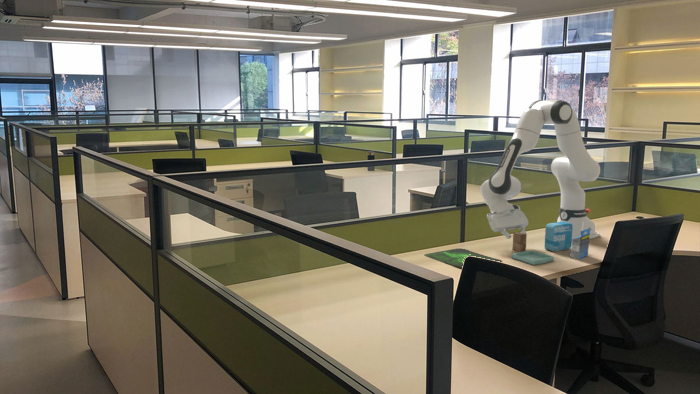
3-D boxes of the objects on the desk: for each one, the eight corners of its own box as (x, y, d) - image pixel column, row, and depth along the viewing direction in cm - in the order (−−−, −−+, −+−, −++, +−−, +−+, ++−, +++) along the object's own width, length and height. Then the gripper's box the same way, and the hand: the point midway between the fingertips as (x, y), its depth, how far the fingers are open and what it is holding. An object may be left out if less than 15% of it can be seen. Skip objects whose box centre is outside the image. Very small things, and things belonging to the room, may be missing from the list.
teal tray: (531, 254, 248) (531, 250, 247) (553, 261, 237) (553, 256, 237) (511, 258, 242) (511, 253, 241) (533, 265, 231) (533, 260, 231)
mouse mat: (421, 255, 248) (421, 253, 248) (459, 248, 259) (459, 246, 259) (464, 271, 225) (464, 269, 225) (504, 263, 236) (504, 260, 236)
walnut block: (518, 249, 256) (519, 231, 255) (525, 251, 253) (526, 233, 251) (512, 250, 254) (513, 232, 253) (519, 252, 251) (520, 234, 249)
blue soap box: (551, 252, 252) (553, 225, 249) (544, 249, 256) (545, 223, 253) (571, 249, 257) (573, 223, 255) (563, 246, 261) (565, 221, 259)
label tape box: (579, 253, 249) (581, 226, 246) (588, 255, 246) (590, 228, 243) (569, 257, 243) (571, 229, 240) (579, 259, 240) (581, 231, 238)
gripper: (488, 209, 253) (504, 235, 246) (521, 205, 263) (537, 230, 256) (481, 217, 257) (496, 243, 251) (513, 213, 268) (528, 237, 261)
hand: (517, 236), depth 254 cm, fingers open, 8 cm apart
